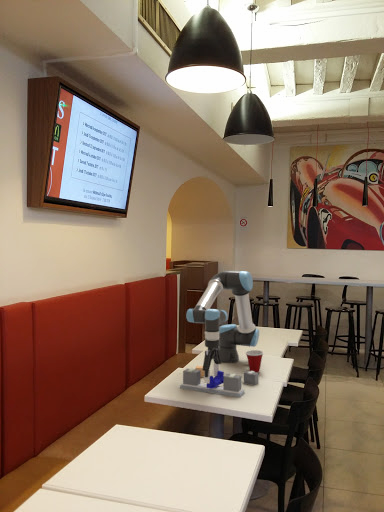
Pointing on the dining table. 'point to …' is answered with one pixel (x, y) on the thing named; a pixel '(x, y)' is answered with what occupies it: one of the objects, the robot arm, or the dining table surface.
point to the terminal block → (200, 369)
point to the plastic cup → (254, 360)
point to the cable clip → (216, 380)
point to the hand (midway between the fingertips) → (211, 379)
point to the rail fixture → (229, 388)
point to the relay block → (251, 377)
